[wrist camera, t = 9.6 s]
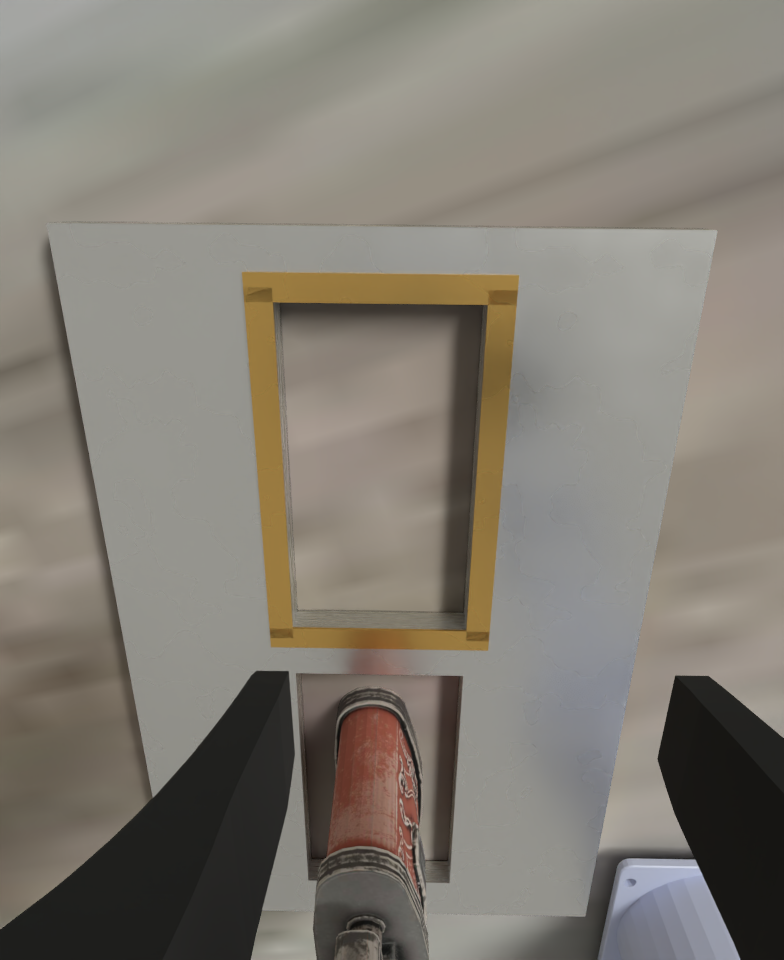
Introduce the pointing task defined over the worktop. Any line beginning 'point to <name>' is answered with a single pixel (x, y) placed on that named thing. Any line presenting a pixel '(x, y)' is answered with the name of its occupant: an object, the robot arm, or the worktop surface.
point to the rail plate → (493, 511)
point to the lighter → (373, 837)
